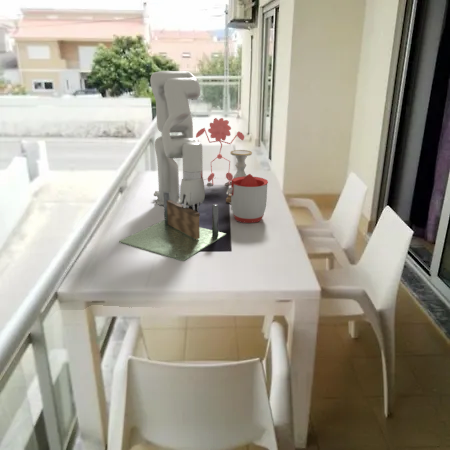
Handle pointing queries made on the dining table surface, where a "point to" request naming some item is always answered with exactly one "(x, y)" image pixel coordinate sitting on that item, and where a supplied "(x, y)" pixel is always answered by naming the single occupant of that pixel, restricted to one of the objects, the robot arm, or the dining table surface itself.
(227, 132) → the figurine
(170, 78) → the robot arm
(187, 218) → the gate
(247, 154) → the candle holder
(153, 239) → the gate frame
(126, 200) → the dining table surface
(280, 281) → the dining table surface
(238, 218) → the citrus juicer
